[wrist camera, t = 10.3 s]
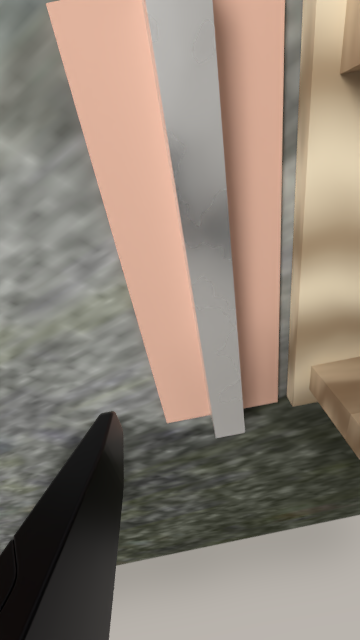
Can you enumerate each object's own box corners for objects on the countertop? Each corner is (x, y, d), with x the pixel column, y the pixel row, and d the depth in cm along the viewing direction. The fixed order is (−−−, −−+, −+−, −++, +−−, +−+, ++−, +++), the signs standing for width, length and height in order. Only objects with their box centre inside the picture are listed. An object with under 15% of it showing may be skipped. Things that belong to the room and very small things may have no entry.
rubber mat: (275, 398, 24) (277, 401, 24) (166, 419, 24) (167, 423, 24) (281, -38, 11) (285, -45, 11) (48, 8, 11) (45, 3, 11)
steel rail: (237, 409, 24) (245, 432, 22) (210, 414, 24) (215, 438, 22) (196, -28, 11) (206, -74, 9) (138, -17, 11) (135, -60, 9)
